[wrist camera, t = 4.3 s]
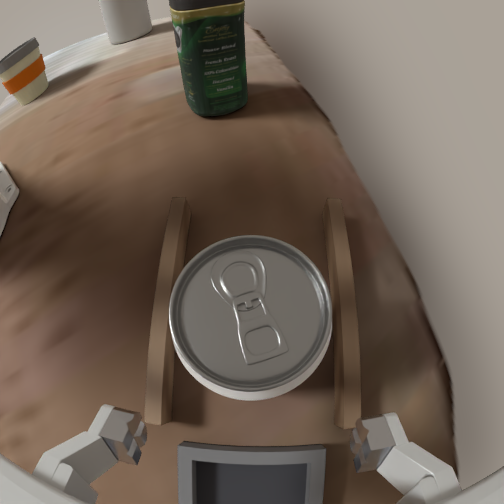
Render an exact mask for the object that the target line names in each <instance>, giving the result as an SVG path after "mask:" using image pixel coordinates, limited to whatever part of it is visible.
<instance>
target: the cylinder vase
mask: <svg viewBox="0 0 504 504" xmlns="http://www.w3.org/2000/svg"><path fill="white" fill-rule="evenodd" d="M98 1H99V5H100V8H101V12H102V16H103V19H104V23H105V27H106V30H107V33H108V37H109V40H110V43H112V44H120V43H125V42H128V41H131V40H134V39H137V38H139V37H141V36H143V35H145V34H147V33H149V32H150V31H151V30H152V24H151V20H150V15H149V10H148V5H147V0H98Z"/></svg>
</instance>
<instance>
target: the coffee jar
mask: <svg viewBox="0 0 504 504" xmlns="http://www.w3.org/2000/svg"><path fill="white" fill-rule="evenodd" d="M169 5H170V11H171V17H172V22H173V28H174V34H175V40H176V46H177V51H178V57H179V62H180V68H181V73H182V79H183V85H184V90H185V95H186V99H187V102H188V104H189V106H190V108H191V109H192V111H193V112H194V113H195V114H197V115H199V116H219V115H225V114H228V113H231V112H234V111H236V110H238V109H240V108H242V107H243V106H244V105H245V104H246V103H247V100H248V94H247V74H246V58H245V35H244V6H245V1H244V0H169Z"/></svg>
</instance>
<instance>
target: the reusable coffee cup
mask: <svg viewBox="0 0 504 504" xmlns="http://www.w3.org/2000/svg"><path fill="white" fill-rule="evenodd" d="M38 46H39V44H38V42H37V40H36V38H35V37H34V38H32V39H30V40H29V41H27V42H25V43H24V44H22V45H20V46H19V47H17V48H16V49H15V50H13V51H12V52H11V53H9V54H8V55H7V56H5V57H4V58H3V59H2V60H1V61H0V78H1V79H2V81H3V83H2V84H3V85H4V86H5V88H6V89H7V90H8V91H9V93H10V94H13V96H14V97H15V98H16V99H17V101H18V102H19V103H20V105H21V106H24V105H26V104H28V103H30V102H31V101H33V100H34V99H36V98H37V97H38V96H39V95H41V94H42V93H43V92H44V91H45V90H46V89H47V87H48V86H49V84H48V81H47V77H46V74H45V71H44V70H45V65H44V61H43V57H42V54H40V52H39V47H38Z"/></svg>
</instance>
